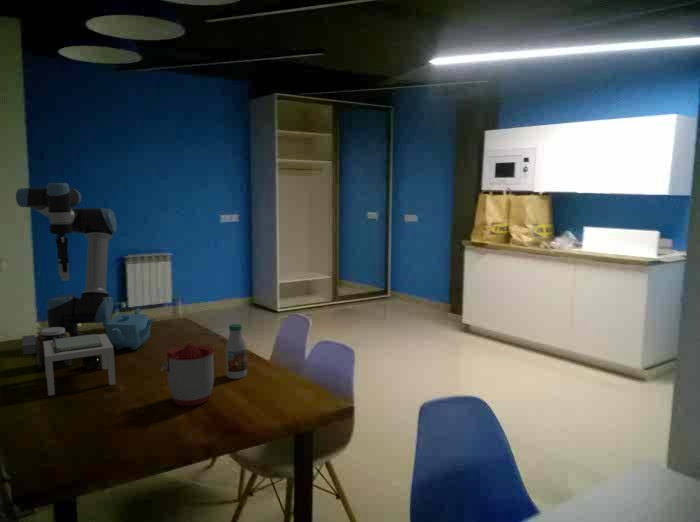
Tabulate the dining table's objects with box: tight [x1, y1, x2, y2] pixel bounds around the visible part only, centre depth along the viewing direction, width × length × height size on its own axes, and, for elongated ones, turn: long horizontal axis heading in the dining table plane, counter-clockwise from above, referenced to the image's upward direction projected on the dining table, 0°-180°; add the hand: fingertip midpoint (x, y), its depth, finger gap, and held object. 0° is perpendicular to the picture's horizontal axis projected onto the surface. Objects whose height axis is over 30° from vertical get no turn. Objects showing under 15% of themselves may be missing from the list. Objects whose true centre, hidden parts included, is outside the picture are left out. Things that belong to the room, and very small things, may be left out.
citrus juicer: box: [160, 343, 215, 407], centre depth 181 cm, size 16×17×20 cm
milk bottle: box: [225, 323, 248, 380], centre depth 205 cm, size 8×8×20 cm
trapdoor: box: [21, 333, 101, 355], centre depth 196 cm, size 24×14×4 cm, turn 121°
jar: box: [36, 327, 72, 371], centre depth 216 cm, size 12×12×15 cm
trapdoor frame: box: [43, 333, 117, 396], centre depth 200 cm, size 22×22×16 cm
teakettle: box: [102, 307, 157, 351], centre depth 241 cm, size 19×19×15 cm
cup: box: [81, 355, 102, 370], centre depth 217 cm, size 8×7×8 cm
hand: (64, 277), depth 209 cm, fingers open, 13 cm apart
